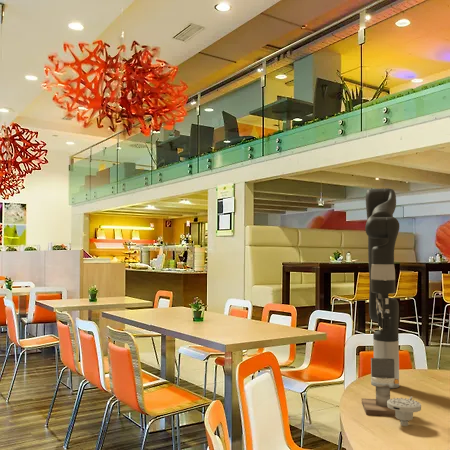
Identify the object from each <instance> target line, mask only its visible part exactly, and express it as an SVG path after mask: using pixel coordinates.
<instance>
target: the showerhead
mask: <svg viewBox="0 0 450 450" xmlns="http://www.w3.org/2000/svg"><path fill="white" fill-rule="evenodd" d="M387 407H388V408H390V409H392V410H395V416H394V417H395V418H396V419H397V420H399V421H400V422H399V423H400V425H401V426H403V427H408V426H409V421H412V420H413V419H414V413H418V412H420V411H421V410H422V403H420V402H419V401H417V400H415V399H413V396H409V398H406V397H405V398H403V397H400V398H398V397H396V398H395V397H394V398H390V400H388V401H387Z"/></svg>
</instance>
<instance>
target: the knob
mask: <svg viewBox="0 0 450 450" xmlns="http://www.w3.org/2000/svg"><path fill="white" fill-rule="evenodd" d="M370 368H371V369H370V384H371V385H372V386H373V387H375V388H376V387H382V388H390V389H392V388H391V387H394V386H395V384H399V385H400V379H399V380H398V379H395V376H394V359H384V358H374V357H370Z"/></svg>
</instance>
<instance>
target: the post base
mask: <svg viewBox="0 0 450 450" xmlns="http://www.w3.org/2000/svg"><path fill="white" fill-rule="evenodd" d="M390 399H391V388H382V387H376V386H375V398H361V404H362V408H363V410H364V412H365V415H366V416H383V417H396V416H395V410H392V409H390V408H388V407H387V401H388V400H390Z"/></svg>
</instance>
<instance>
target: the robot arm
mask: <svg viewBox="0 0 450 450" xmlns="http://www.w3.org/2000/svg"><path fill="white" fill-rule="evenodd" d="M396 208H397V195H396V192H395V190H394V189H392V188H390V187H387V188H383V187H382V188H370V189H367V190H366V192H365V210H366V221H365V222H366V223H365V227H364V229H365V233H366V235H367V255H368V257H367V259H368V272H369V273H368V274H369V276H368V278H369V289H368V291H369V295H368V299H369V300H368V313H369V318H370V321H372V322H377V326H378V327H381V329H379V330H376V331H374V332H373V337H372V339H373V340H372V341H373V358H384V359H394V376H395V379H398V380H399V381H400V354H399V353H400V352H399V351H400V348H399V347H400V346H399V342H400V341H399V322H400V321H399V320H400V319H399V316H400V305H399V301H398V299H397V298H396V297H389V294H395V293H396V269H395V245H396V243H397V240H398V239H397V238H398V236H399V232H400V221H399V220H398V219H397V218H396V217H394V216H393V215H394V214H395V210H396ZM396 388H397V389H398V388H400V383H399V384H395V386H394V387H391V388H390V389H396Z"/></svg>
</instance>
